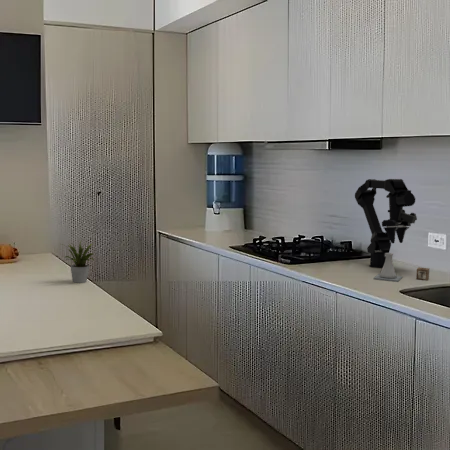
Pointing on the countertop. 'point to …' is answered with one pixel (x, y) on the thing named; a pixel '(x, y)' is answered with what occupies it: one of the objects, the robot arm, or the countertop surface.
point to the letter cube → (422, 273)
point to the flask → (388, 267)
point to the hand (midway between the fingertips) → (397, 243)
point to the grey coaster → (388, 278)
